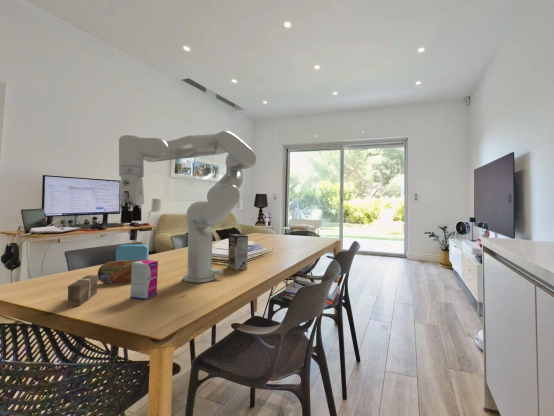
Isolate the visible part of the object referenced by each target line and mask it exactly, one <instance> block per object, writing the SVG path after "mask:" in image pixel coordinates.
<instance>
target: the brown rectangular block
mask: <svg viewBox="0 0 554 416" xmlns="http://www.w3.org/2000/svg"><path fill="white" fill-rule="evenodd" d="M97 292H98V274H97V275H96V274H92V275H91V274H90V275H86V276H83V277H82V278H79V279H77V281H74V282H73V283H70V284H69V285H68V286H67V307H69V308H70V307H72V308H73V307H81V306H82V305H83V304H85V303H86V302H87V301H89V300H90V299H91V298H93V297H94V296H95V295H97Z"/></svg>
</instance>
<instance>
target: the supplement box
mask: <svg viewBox="0 0 554 416" xmlns="http://www.w3.org/2000/svg"><path fill="white" fill-rule="evenodd" d="M158 269H159V261H158V260H141V261H137V262H133V263H132V273H131V282H130V296H129V298H130V299H133V300H134V299H135V300H142V301H146V300H148V299H150V298H151V297H154V296H157V294H158V272H159V271H158Z"/></svg>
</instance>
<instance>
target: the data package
mask: <svg viewBox="0 0 554 416" xmlns="http://www.w3.org/2000/svg"><path fill="white" fill-rule="evenodd" d="M149 251H150V248H149V245H148V244H139V243H137V244H121V245H119V246H117V247H116V249H115V261H123V260H137V261H141V260H149V258H150V257H149V256H150V255H149V254H150V253H149Z"/></svg>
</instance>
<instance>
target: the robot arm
mask: <svg viewBox="0 0 554 416" xmlns="http://www.w3.org/2000/svg"><path fill="white" fill-rule="evenodd" d="M225 153H228V154H227V155H226V158H225V167H226V171H225V173H224V175H223V176H222V177H221V178H220V179H219V180H218V181H217V182H216V183H214V185H213V186H211V188H209V190H208V192H207V194H206V201H205V200H204V201H203V200H202V201H201V200H200V201H194V202H193V203H191V204H190V205H189V206H188V208H187V211H186V223H187V234H188V235H187V274H185V275H183V277H182V278H183V279H182V280H183V281H184V282H187V283H194V284H195V283H196V284H198V283H209V282H211V281H214V280H215V279H216V275H223V274H224V270H223V269H220V268H213V229H212V227H215V226H217V225H218V224H221V222H222V221H223V220H224V219H225V218H226V217H227V216H228V215H229V214H231V212H232V210H233V209H234V208H235V207H237V205H238V203H239V201H240V189H239V188H241V186H242V184H243V182H244V175H243V174H244V173H243V170H247V169H251V168H252V167H253V166H255V164H256V163H257V155H256V153H255V151H254V150H253V149H252V148H251V147H250V146H249V145H247V144H246V143H245V142H244V141H243V140H242V139H240V138H239V137H238V136H237V135H235V134H234V133H232V132H231V131H229V130H222V131H220V132H217V133H210V134H194V135H193V134H192V135H187V136H183V137H180V138H176V139H171V140H163V139H161V138H157V137H140V136H137V135H136V136H135V135H129V134H128V135H127V134H126V135H121V136H120V137H119V138H118V177H120V183H119V184H120V188H119V189H120V190H119V193H120V194H119V201H120V223H121V224H132V223H133V222H142V206H143V205H144V203H145V199H144V198H145V197H144V194H145V193H144V183H143V178H144V169H145V167H144V165H145V164H144V163H145V162H147V163H148V162H149V163H155V162H156V163H157V162H164V161H165V162H166V161H171V160H173V161H174V160H181V159H193V158H198V157H199V158H200V157H207V156H215V155H222V154H225ZM144 161H145V162H144Z"/></svg>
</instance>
